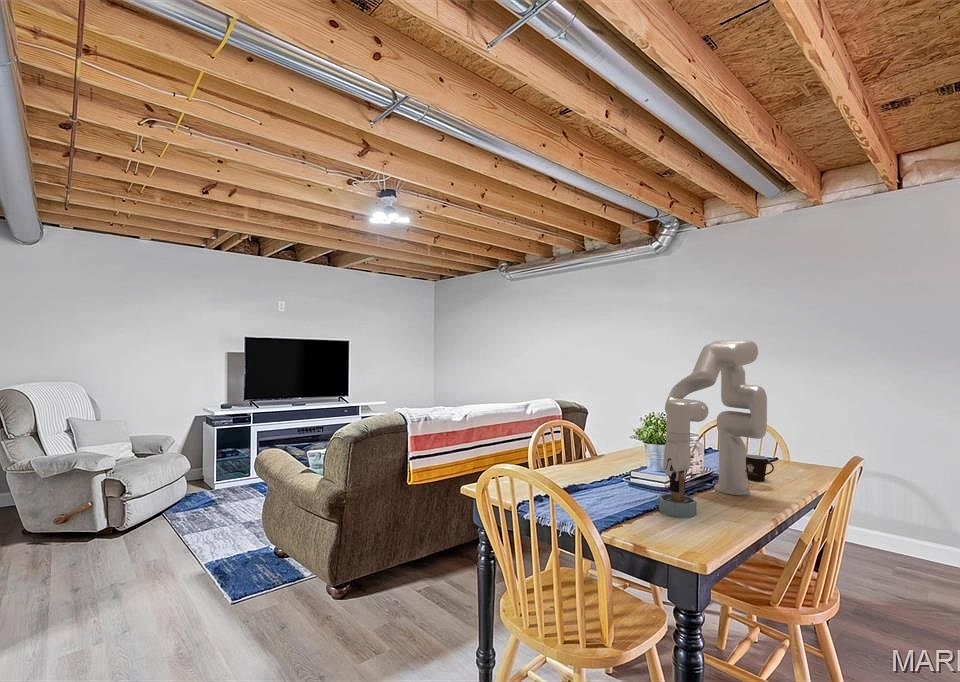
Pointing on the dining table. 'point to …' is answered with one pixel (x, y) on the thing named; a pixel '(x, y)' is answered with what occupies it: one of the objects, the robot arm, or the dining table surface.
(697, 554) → the dining table surface
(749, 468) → the coffee mug
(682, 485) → the wood grain block
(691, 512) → the octagonal socket dish
